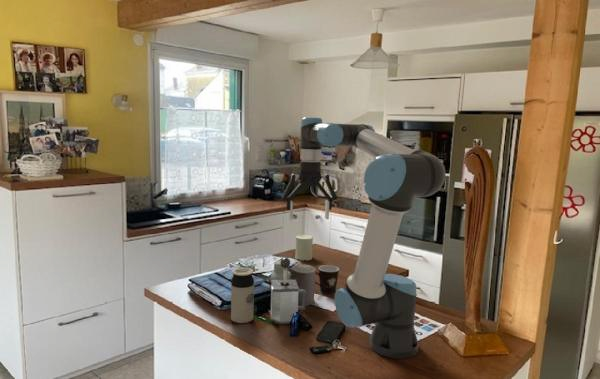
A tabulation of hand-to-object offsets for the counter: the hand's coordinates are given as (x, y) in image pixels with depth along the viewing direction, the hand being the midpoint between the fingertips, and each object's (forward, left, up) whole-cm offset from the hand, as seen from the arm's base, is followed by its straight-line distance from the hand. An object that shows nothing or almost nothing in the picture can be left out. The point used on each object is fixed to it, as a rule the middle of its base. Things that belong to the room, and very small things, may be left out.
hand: (308, 218), depth 157 cm
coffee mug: (+19, -11, -36) cm, 42 cm away
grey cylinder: (+9, 0, -36) cm, 37 cm away
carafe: (-6, +8, -36) cm, 37 cm away
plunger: (-6, +9, -31) cm, 33 cm away
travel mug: (-5, +24, -36) cm, 43 cm away
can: (+65, -9, -36) cm, 75 cm away
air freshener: (+28, +7, -36) cm, 46 cm away
